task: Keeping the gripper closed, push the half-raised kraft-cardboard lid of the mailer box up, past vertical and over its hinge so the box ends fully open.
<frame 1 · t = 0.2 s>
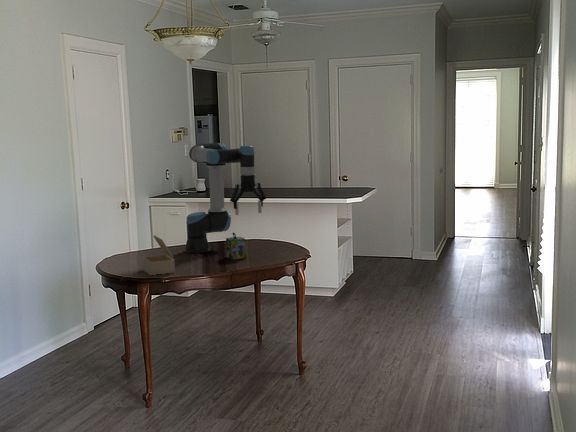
hand: (248, 213, 338), 28 cm above the table, fingers open, 13 cm apart
mailer: (158, 271, 330), on the table
lid: (163, 246, 329), point 13 cm above the table, hinge at 60.0°
colorful juice box: (236, 258, 359), on the table
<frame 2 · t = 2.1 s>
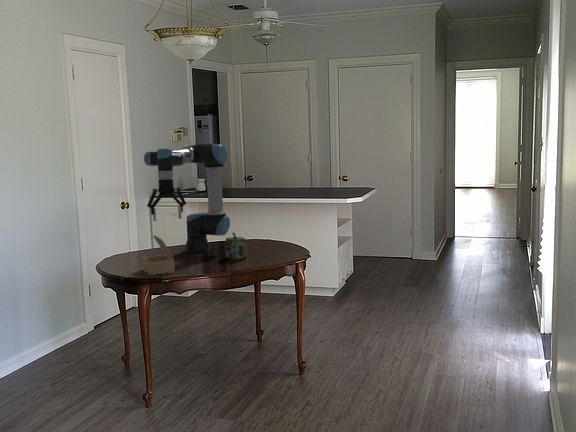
hand: (167, 219, 325), 28 cm above the table, fingers open, 13 cm apart
nothing on the table moved.
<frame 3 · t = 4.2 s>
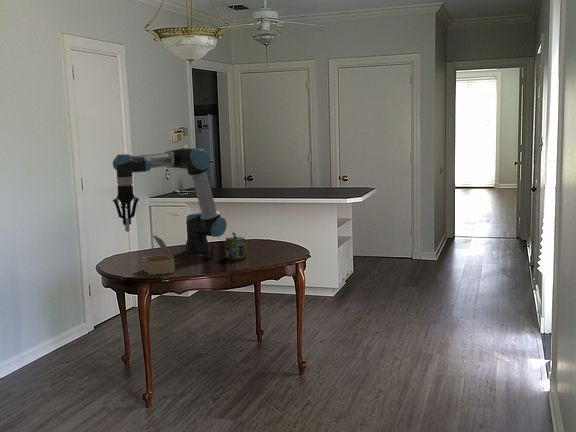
hand: (127, 231, 319), 23 cm above the table, fingers closed
nothing on the table moved.
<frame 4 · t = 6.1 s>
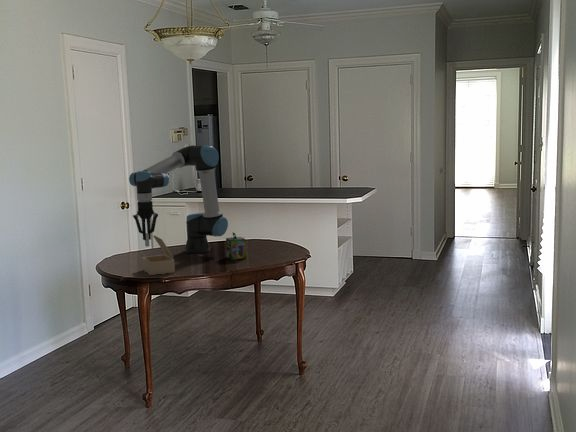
hand: (147, 246, 325), 14 cm above the table, fingers closed
nothing on the table moved.
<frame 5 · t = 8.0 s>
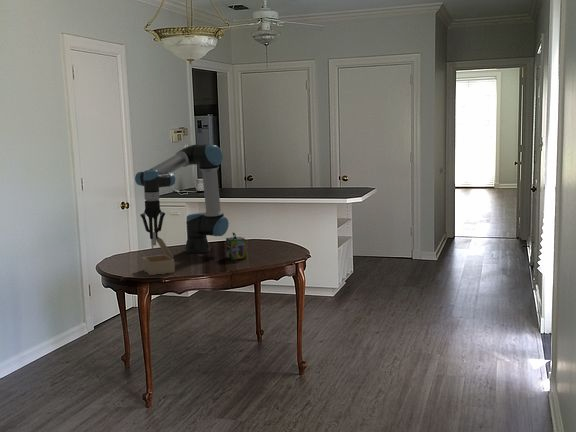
hand: (154, 244, 327), 14 cm above the table, fingers closed
lid: (163, 246, 329), point 13 cm above the table, hinge at 60.6°, touching gripper
everything else where it was.
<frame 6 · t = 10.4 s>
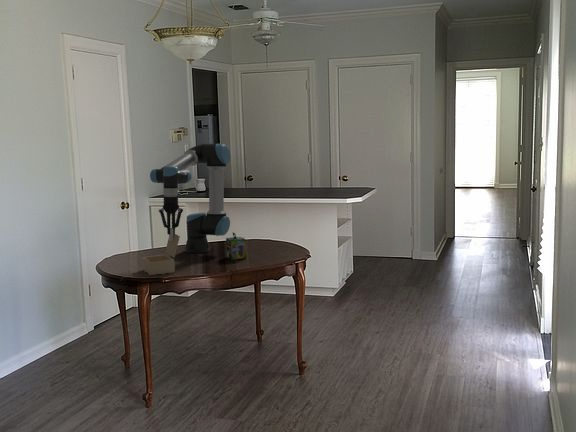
hand: (171, 240, 331), 16 cm above the table, fingers closed
lid: (172, 244, 331), point 14 cm above the table, hinge at 106.7°, touching gripper
everything else where it was.
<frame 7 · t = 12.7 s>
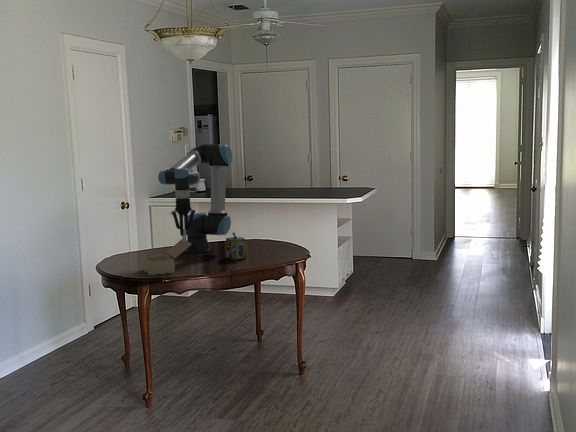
hand: (184, 241, 334), 14 cm above the table, fingers closed
lid: (178, 248, 333), point 11 cm above the table, hinge at 145.6°, touching gripper
everything else where it was.
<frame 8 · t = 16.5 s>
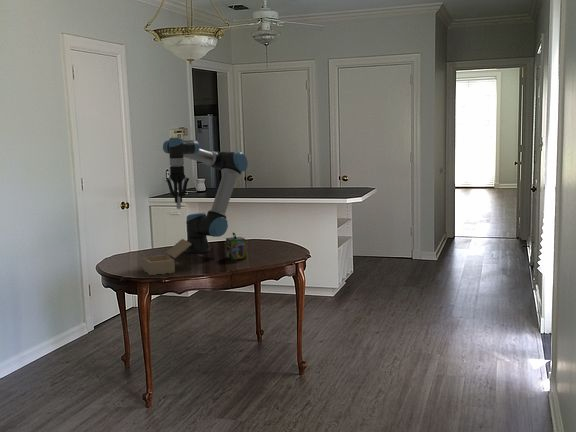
hand: (178, 208, 346), 30 cm above the table, fingers closed
lid: (178, 248, 333), point 11 cm above the table, hinge at 145.8°
everything else where it was.
at the end: lid at +146° (first picture: +60°); lid touching nothing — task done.
